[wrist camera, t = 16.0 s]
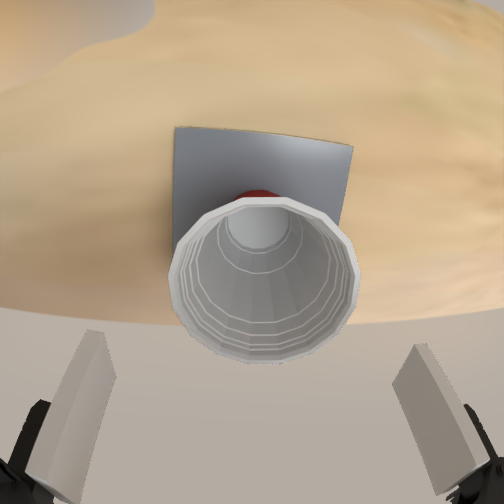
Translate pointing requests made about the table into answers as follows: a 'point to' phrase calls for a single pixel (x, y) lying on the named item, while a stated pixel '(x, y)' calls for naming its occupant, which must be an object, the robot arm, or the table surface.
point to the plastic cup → (264, 279)
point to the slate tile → (254, 171)
